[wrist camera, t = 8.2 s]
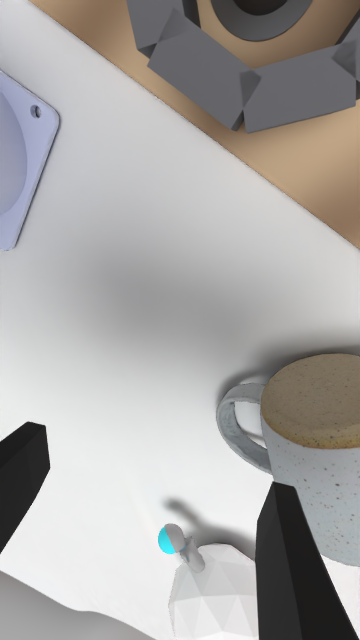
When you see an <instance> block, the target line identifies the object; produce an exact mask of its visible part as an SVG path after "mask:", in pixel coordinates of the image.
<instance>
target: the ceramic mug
mask: <svg viewBox="0 0 360 640" xmlns="http://www.w3.org/2000/svg"><path fill="white" fill-rule="evenodd" d="M235 401H247V402H250V403H258V404H260V405H261V409H260V416H261V427H262V432H263V436H264V440H265V444H266V447H267V449H266V448H264V447H262V446H260V445H259V444H257V443H255V442H254V441H252V440H251V439H250V438H249V437H247V436H246V435H245V434H244V433H243V432H242V431H241V430H240V428H239V427H238V425H237V423H236V419H235V414H234V407H235V405H234V402H235ZM216 421H217V425H218V428H219V431H220V433H221V435H222V437H223V438H224V440H225V441H226V443H227V444H228V445H229V446H230V448H231V449H232V450H233V451H234V452H235V453H236V454H238V455H239V456H240V457H241V458H243V459H244V460H245V461H247V462H248V463H250V464H252V465H253V466H255V467H256V468H258V469H260V470H262V471H264V472H267V473H269V474H271V475H273V478H274V482H278V483H282V484H286V485H290V486H294V487H295V489H296V490H297V493H298V496H299V499H300V502H301V505H302V508H303V511H304V514H305V516H306V519H307V522H308V525H309V527H310V530H311V532H312V535H313V538H314V540H315V543H316V545H317V548H318V550H319V553H320V554H322V555H323V556H325V557H327V558H329V559H331V560H334V561H337V562H340V563H342V564H345V565H350V566H357V567H360V356H357V355H350V354H322V355H315V356H311V357H307V358H303V359H300V360H297V361H295V362H293V363H291V364H289V365H287V366H285V367H284V368H282V369H281V370H279V371H278V372H277V373H276V374H275V375H273V376H272V377H271V379H270V380H269V382H268V383H267V384H266V385H262V384H256V383H250V384H242V385H237V386H235V387H233V388H232V389H230V390H229V391H228V392H227V394H226V395H225V396H224V398H223V399H222V400H221V402H220V403H219V405H218V408H217V412H216Z"/></svg>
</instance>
